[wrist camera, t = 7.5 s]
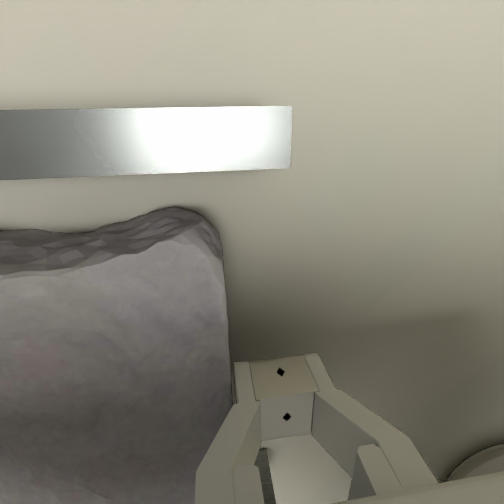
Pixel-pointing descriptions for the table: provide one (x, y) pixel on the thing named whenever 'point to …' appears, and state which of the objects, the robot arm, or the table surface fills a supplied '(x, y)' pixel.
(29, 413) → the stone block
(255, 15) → the table surface
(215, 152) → the grey u-shaped bracket
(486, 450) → the can
